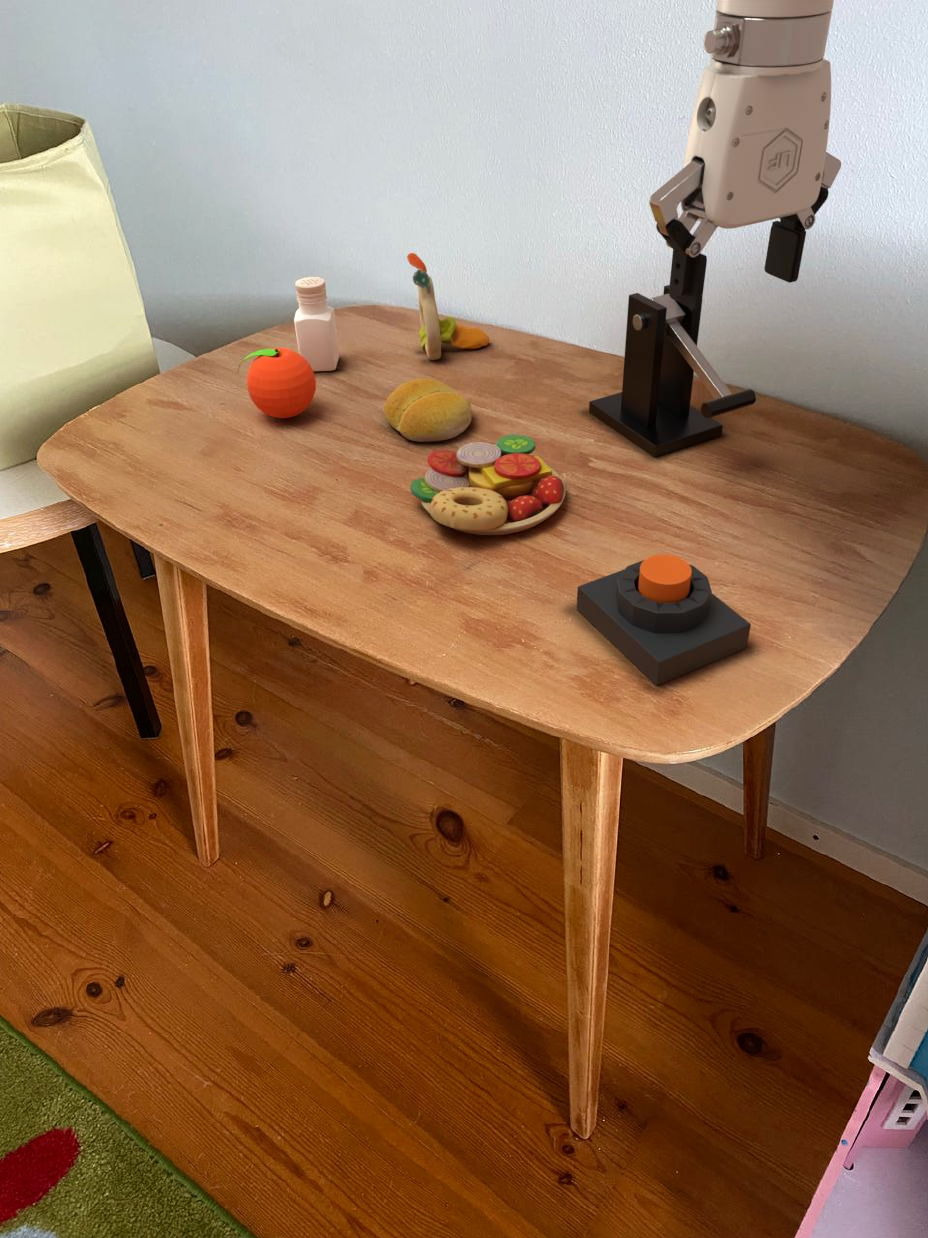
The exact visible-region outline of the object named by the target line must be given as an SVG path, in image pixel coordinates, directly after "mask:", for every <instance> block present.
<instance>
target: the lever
mask: <svg viewBox="0 0 928 1238" xmlns="http://www.w3.org/2000/svg"><path fill="white" fill-rule="evenodd" d="M650 299H651V300H653V301H655V302H656V303H658V304H660V305H662V306H664V307H666V308H667V312H666V322H665V333H664V336H669V338H670V339H671V340H672V342H673V343H674V344H675V346H676V347H677V348H678V350H679V351H680V353H681V354H682V355H683V357H684V358H685V359H686V361H687V362H688V363H689V365H690V366H691V368H692V369H693V370H694V374H695V375H696V376H697V378H698V379H699V380H700V381H701V383H702V384H703V386H704V387H705V388H706V389H707V391H708V392H709V394H710V395H711V396H712V398H713V399H710V400H707V401H704V402H703V403H702V404H701V406H700V411H701V412H702V415H703V416H704V417H705V418H712V419H713V418H714V417H718V416H721V415H724V414H727V413H730V412H734V411H737V410H740V409H743V408H747V407H750V406H752V405H754V404H755V403H756V400H757V396H756V393H755V391H754V390H753V389H752V388H747V389H743V390H740V391H737V392H734V393H732V391H731V390H730V389H729V387H728V386H727V385H726V383H725V382H724V381H723V379H722V378H721V377H720V375H719V374H718V373H717V371H716V370H715V369H714V368H713V366H712V365H711V364H710V362H709V361H708V359H707V357H705V355H704V354H703V353H702V351H701V350H700V349H699V347H698V345H697V346H696V345H695V343H694V342H693V341H692V339H691V338H690V337H689V335H688V334H687V333H686V331H685V330H684V329H683V327H682V326H681V323H682V320H683V318H684V316H685V313H684V312H683V310H682V309H681V308H680V306H679V305H678V304H677V302H676V301H675V300H673V299H672V298H671V297H670V295H669V294H665V295H663V294H661V295H657V296H654V297H651V298H650Z"/></svg>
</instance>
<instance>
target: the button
mask: <svg viewBox="0 0 928 1238" xmlns="http://www.w3.org/2000/svg"><path fill="white" fill-rule="evenodd" d="M643 560H644V561H643ZM643 560H642V561H643V562H642V564H641V566H640V573H639V584H638V589H639V592H640V593H641V595H642V596H643V597H645V598H646V599H649V600H653V601H656V602H659V603H677V602H679V601H682V600H684V599H685V598H686V597H687V596H688V594H689V590H690V582H691V575H692V569H691V567H690V565H691V564H690V565H689V563H688V562H687V561H686V560H684V559H683V558H680V557H678V556H675V555H670V554H657V555H652V556H649V557H647V558H645V559H643Z"/></svg>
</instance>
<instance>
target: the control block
mask: <svg viewBox="0 0 928 1238" xmlns="http://www.w3.org/2000/svg"><path fill="white" fill-rule="evenodd" d="M644 560H645V559H642V560H639V561H637V562H634V563H632V564H629V565H627V566H626V567H625V568H624V569H622V570H619V571H616V572H614V573H611V574H608V575H604V576H603V577H599V578H597V579H595V580H591V581H589V582H586V583H583V584H581V585H578V586H577V591H576V592H577V593H576V610H577V611H578V613H580V614H581V615H582V616H583V617H584V618H585V619H586V620H587V621H588V622H589V623H590V624H591V625H592V626H593V627H594V628H596V630H597V631H599V632H600V633H601V635H602V636H604V637H605V638H606V639H607V640H608V641H609V642H610V643H611V644H612V645H613V646H614V647H615V648H616V649H617V650H619V652H621V653H622V654H623V656H625V657H626V658H627V659H628V660H629V661H630V662H631V663H632V664H633V665H634V666H635V667H636V668H637V669H638V670H639V671H640V672H641V673H642V674H644V676H646V677H647V678H648V679H649V680H650V681H651V682H652V683H653V684H654V685H655V686H660V685H662V684H665V683H667V682H669V681H671V680H674V679H676V678H678V677H681V676H684V675H686V674H688V673H691V672H693V671H695V670H697V669H700V668H703V667H704V666H707V665H709V664H711V663H714V662H716V661H718V660H721V659H723V658H726V657H728V656H730V655H732V654H735V653H738V652H740V651H742V650H745V649H747V647H748V643H749V637H750V633H751V632H750V631H751V628H752V627H751V626H752V624H751V623H750V622H749V621H747V619H745V618H744V617H743V616H742V615H740V614H739V613H738V612H736V611H735V610H734V609H733V608H732V607H730V606H729V605H728V604H726V602H724V601H723V600H721V599H720V598H719V597H718V596H717V595H715V593H713V592H712V588H711V584H710V580H709V577H708V576H707V575H706V574H705V573H703V572H702V571H700V570H699V569H698V568H697V567H696V566H694V565H692V564H689V563H688V564H689V565H690V567H691V569H692V575H691V582H690V590H689V594H688V596H687V597H686V598H685V599H684V600H682V601H679V602H677V603H659V602H656V601H653V600H649V599H646V598H645V597H643V596H642V595H641V593H640V592H639V589H638V584H639V573H640V566H641V564H642V562H643V561H644Z"/></svg>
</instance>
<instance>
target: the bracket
mask: <svg viewBox="0 0 928 1238" xmlns="http://www.w3.org/2000/svg"><path fill="white" fill-rule="evenodd" d="M669 288H670V284H667V285H664V286H663V294H662V295H665V294H669ZM627 301H628V302H627V317H626V318H627V319H626V328H625V329H626V331H625V344H624V358H623V373H622V388H621V392H620V391H619V392H617V393H613V394H611V395H606V396H603V397H600V398H597V399H593V400H589V404H588V405H589V406H588V413H590V414H591V415H593V416H594V417H596V418H597V419H598V420H600V421H601V422H602V423H604V424H606V425H607V426H608V427H610V428H611V429H613V430H614V431H616V432H617V433H619V434H620V435H621V436H623V437H625V438H626V439H627V440H629V441H630V442H632V443H633V444H635V445H636V446H638V447H639V448H640V449H642V450H643V451H645V452H646V453H647V454H649V455H651V456H652V457H653V458H658V457H660V456H664V455H667V454H670V453H672V452H675V451H679V450H682V449H685V448H688V447H691V446H694V445H697V444H701V443H703V442H706V441H707V442H708V441H710V440H712V439H715V438H719V437H721V436H722V435H723V427H724V424H722V423H721V422H719V421H718V420H716V419H714V418H713V417H712V418H705V417H704V416H703V415H702V412H701V410H699V409H697V408H696V407H694V406H692V405H691V400H692V392H693V384H694V377H695V376H694V375H695V372H694V370H693V369H692V368H691V366H690V365H689V363H688V362H687V361H686V359H685V358H684V357H683V355H682V354H681V353H680V351H679V350H678V348H677V347H676V346H675V344H674V343H673V342H672V340H671V339H670V338H669V336H664V333H665V322H666V312H667V308H666V307H664V306H662V305H660V304H658V303H656V302H655V301H653V300H651V298H648V297H647V296H645V295H643V294H641V293H639V292H636V293H631V294H628V300H627ZM676 302H677V301H676ZM677 304H678V305H679V306H680V308H681V309H682V310H683V312H684V313H685V316H684V318H683V320H682V323H681V326H682V327H683V329H684V330H685V331H686V333H687V334H688V335H689V337H690V338H691V339H692V341H693V342H694V343H695V345H696V346H697V347H698V341H699V340H698V339H699V333H700V326H701V325H700V324H701V315H702V308H703V307H702V306H703V303H702V304H701V305H700V307H698V308H694V309H691V308H689V307H687V306H685V305H683V304H681V303H679V302H677Z"/></svg>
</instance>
